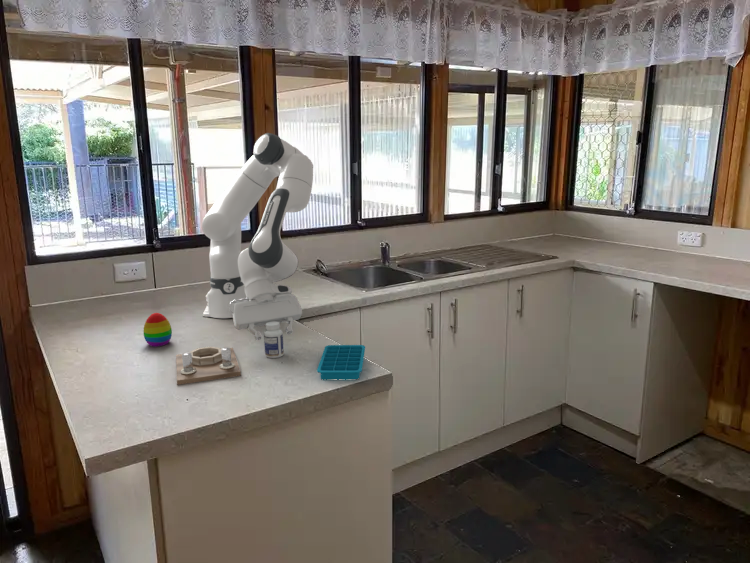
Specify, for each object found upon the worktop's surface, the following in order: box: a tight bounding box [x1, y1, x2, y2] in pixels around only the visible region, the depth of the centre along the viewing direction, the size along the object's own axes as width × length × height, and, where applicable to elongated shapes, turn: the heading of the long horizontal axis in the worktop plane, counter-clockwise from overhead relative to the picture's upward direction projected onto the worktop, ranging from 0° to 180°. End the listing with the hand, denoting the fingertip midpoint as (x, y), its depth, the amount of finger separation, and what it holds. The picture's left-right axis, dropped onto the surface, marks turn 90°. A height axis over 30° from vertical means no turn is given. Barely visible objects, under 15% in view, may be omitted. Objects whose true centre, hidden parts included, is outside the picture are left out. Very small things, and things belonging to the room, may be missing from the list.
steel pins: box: [180, 347, 235, 375], centre depth 149 cm, size 4×14×5 cm, turn 110°
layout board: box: [175, 346, 242, 386], centre depth 154 cm, size 20×16×3 cm
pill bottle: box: [263, 321, 285, 359], centre depth 161 cm, size 5×5×10 cm
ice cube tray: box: [316, 344, 366, 381], centre depth 153 cm, size 12×20×3 cm, turn 178°
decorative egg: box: [143, 312, 173, 348], centre depth 173 cm, size 8×8×10 cm
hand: (274, 335), depth 161 cm, fingers open, 8 cm apart
